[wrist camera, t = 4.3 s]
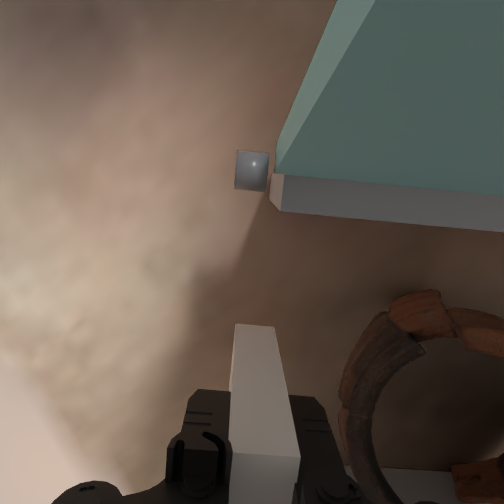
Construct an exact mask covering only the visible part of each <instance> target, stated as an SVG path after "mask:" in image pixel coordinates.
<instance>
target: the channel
mask: <svg viewBox="0 0 504 504" xmlns="http://www.w3.org/2000/svg"><path fill="white" fill-rule="evenodd" d="M268 164H269V153H262V152H252V151H242V150H238V152H237V161H236V173H235V187H234V189H239V190H250V191H260V192H265V189H266V183H267V175H268ZM269 200H270V201H271V202H272V203H273V204H274V205H275V206H276V207H277V208H278V210H279V211H280V212H290V213H301V214H312V215H322V216H333V217H344V218H355V219H365V220H376V221H387V222H398V223H409V224H419V225H430V226H441V227H452V228H462V229H473V230H484V231H495V232H504V196H500V195H490V194H479V193H469V192H459V191H449V190H438V189H428V188H418V187H408V186H397V185H387V184H377V183H366V182H356V181H346V180H336V179H325V178H315V177H305V176H295V175H284V174H272V175H271V185H270V195H269ZM344 468H345V471H346V474H347V475H348V476H350V477H351V478H352V479H353V480H354V481H355V482H357V481H356V479H355V477H354V475H353V472H352V470H351V467H350V466H347V465H344ZM380 469H381V471H382V473H383V475H384V477H385V478H386V480H387V482H388V483H389V485H390V486H391V488H392V489H393V491H394V492H395V493H396V494H397V496H398V497H399V498H400V499H401V501H402V502H403V503H404V504H415V503H417V502H419V501H433V502H436V503H439V504H469V503H463V502H461V501H459V500H458V498H457V495H456V485H455V482H454V479H453V475H452V472H442V471H426V470H410V469H395V468H380ZM476 504H489V503H476Z"/></svg>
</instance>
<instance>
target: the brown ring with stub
mask: <svg viewBox="0 0 504 504" xmlns="http://www.w3.org/2000/svg"><path fill="white" fill-rule="evenodd" d="M389 310H390V311H389V312H381V313H379V314H378V315H377V316H375V317H374V319H373V320H372V322H371V323H370V324H369V326H368V327H367V328H366V330H365V331H364V332H363V334H362V336H361V337H360V339H359V341H358V342H357V344H356V345H355V348H354V349H353V351H352V353H351V355H350V357H349V359H348V362H347V364H346V366H345V369H344V372H343V376H342V379H341V383H340V386H339V391H338V396H339V398H340V399H341V400H342V402H343V406H342V409H341V410H340V411H339V414H338V422H339V428H340V434H341V438H342V441H343V445H344V449H345V451H346V454H347V457H348V461H349V464H350V467H351V470H352V472H353V475H354V477H355V479H356V481H357V483H358V484H359V486H360V487H361V489H362V491H363V492H364V494H365V496H366V498H367V499H368V500H370V501H372V502H373V503H375V504H404V503H403V502H402V501H401V499H400V498H399V497H398V496H397V494H396V493H395V492H394V491H393V489H392V488H391V486H390V485H389V483H388V482H387V480H386V478H385V477H384V475H383V473H382V471H381V469H380V467H379V465H378V462H377V459H376V456H375V452H374V448H373V443H372V435H371V427H372V415H373V412H374V409H375V405H376V403H377V400H378V397H379V395H380V393H381V391H382V389H383V388H384V386H385V385H386V383H387V382H388V381H389V380H390V378H391V377H392V376H393V375H394V374H395V373H396V372H397V371H399V370H400V369H401V368H402V367H403V366H405V365H406V364H408V363H410V362H411V361H413V360H415V359H417V358H419V357H421V356H423V355H424V354H426V350H425V349H424V348H423V347H422V346H421V345H420V344H419V343H418V342H422V341H427V340H432V339H435V338H442V337H444V338H458V339H459V340H460V341H461V343H462V344H463V346H464V347H465V348H466V349H467V350H470V351H476V352H481V353H486V354H490V355H493V356H496V357H499V358H502V359H504V319H502V318H499V317H497V316H495V315H491V314H488V313H484V312H480V311H475V310H469V309H461V308H448V309H446V308H445V306H444V304H443V302H442V301H441V292H440V291H439V290H432V289H427V290H422V291H417V292H414V293H411V294H408V295H404V296H401V297H400V298H398V299H396V300H395V302H392V303H390V304H389ZM451 472H452V475H453V479H454V482H455V485H456V495H457V498H458V500H459V501H461V502H463V503H469V504H476V503H489V504H504V453H503V454H501V455H500V456H499V457H496V458H492V459H489V460H485V461H480V462H475V463H470V464H454V465H452V466H451Z"/></svg>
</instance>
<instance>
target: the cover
mask: <svg viewBox="0 0 504 504" xmlns="http://www.w3.org/2000/svg"><path fill="white" fill-rule="evenodd" d="M274 174H285V175H295V176H305V177H315V178H326V179H336V180H346V181H356V182H367V183H377V184H387V185H397V186H408V187H418V188H428V189H438V190H449V191H459V192H469V193H479V194H490V195H500V196H504V0H337V2H336V4H335V7H334V9H333V12H332V14H331V16H330V19H329V21H328V23H327V26H326V28H325V30H324V33H323V35H322V37H321V40H320V42H319V45H318V47H317V49H316V52H315V54H314V56H313V59H312V61H311V63H310V66H309V68H308V70H307V73H306V75H305V78H304V80H303V82H302V85H301V87H300V89H299V92H298V94H297V96H296V99H295V101H294V104H293V106H292V108H291V111H290V113H289V115H288V118H287V120H286V122H285V125H284V127H283V129H282V132H281V134H280V137H279V139H278V141H277V147H276V158H275V169H274Z"/></svg>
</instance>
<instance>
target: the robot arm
mask: <svg viewBox="0 0 504 504" xmlns="http://www.w3.org/2000/svg"><path fill="white" fill-rule="evenodd" d="M52 504H375V503H373V502H372V501H370V500H368V499H367V498H366V496H365V494H364V492H363V491H362V489H361V487H360V486H359V484H358V483H357V482H355V481H354V480H353V479H352V478H351V477H350V476H348V475H347V474H346V471H345V468H344V465H343V462H342V459H341V456H340V454H339V451H338V448H337V445H336V442H335V439H334V436H333V434H332V430H331V427H330V424H329V423H328V418H327V415H326V413H325V410H324V408H323V407H322V405H321V404H320V403H319V402H318V401H317V400H316V399H315V398H314V397H308V396H295V395H288V392H287V387H286V382H285V377H284V372H283V367H282V362H281V357H280V352H279V347H278V342H277V337H276V332H275V327H271V326H259V325H248V324H236V323H235V333H234V343H233V353H232V363H231V373H230V383H229V391H216V390H204V389H198V390H197V391H196V392H195V393H194V394H193V395H192V396H191V397H190V398H189V400H188V405H187V409H186V414H185V417H184V421H183V426H182V430H181V432H180V433H179V434H177V435H176V436H175V437H174V438H172V440H171V442H170V443H169V445H168V447H167V460H166V476H165V479H164V480H163V481H162V482H160V483H159V484H158V485H156V486H154V487H152V488H151V489H149V490H145V491H142V492H139V493H135V494H130V495H126V496H122V494H121V493H120V491H119V490H118V488H117V487H115V486H114V485H112V484H110V483H108V482H103V481H89V482H84V483H80V484H78V485H76V486H74V487H72V488H70V489H68V490H66V491H65V492H64V493H62V494H61V495H60V496H59V497H58V498H57V499H55V500H54V501H53V503H52ZM415 504H439V503H436V502H433V501H419V502H417V503H415Z"/></svg>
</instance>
